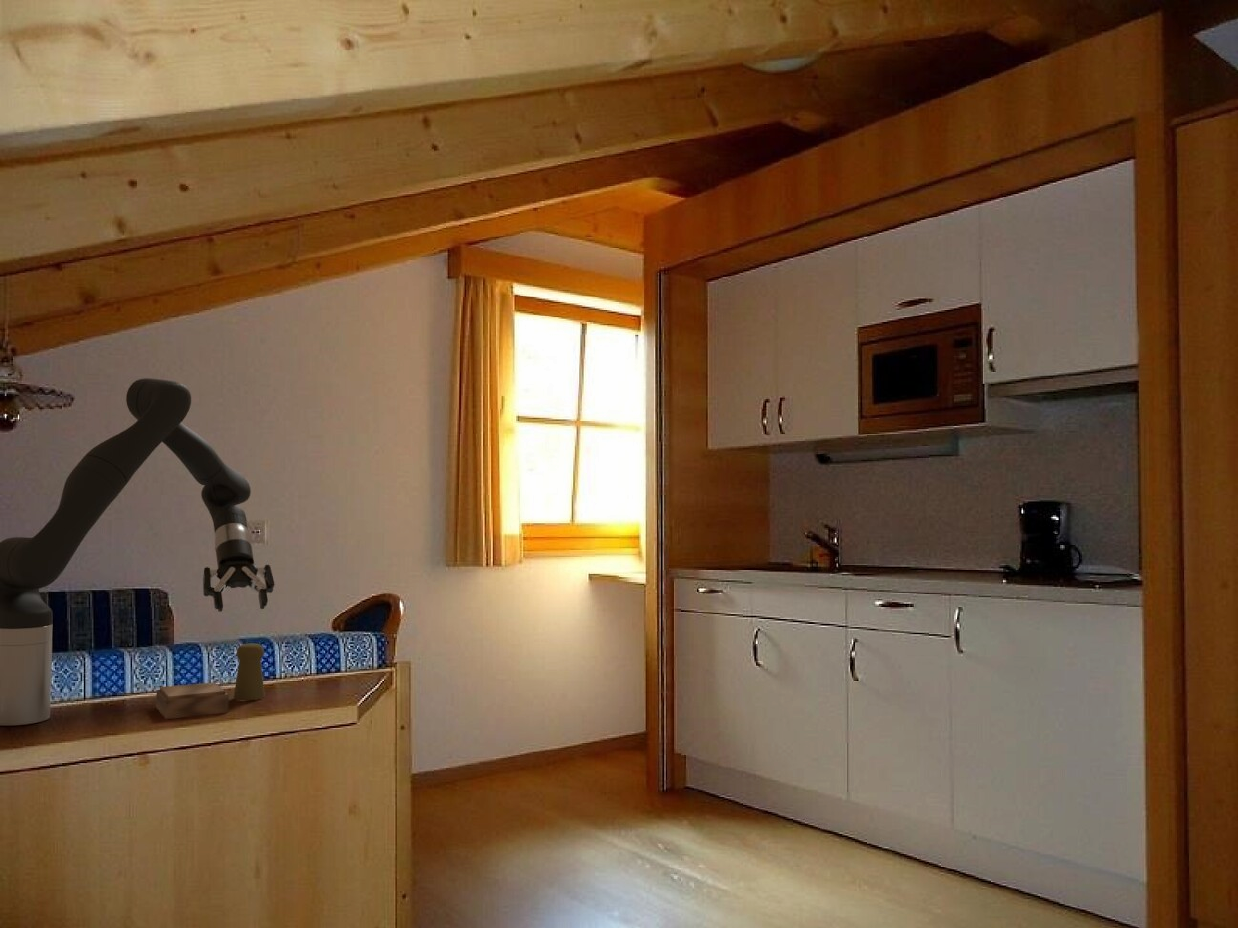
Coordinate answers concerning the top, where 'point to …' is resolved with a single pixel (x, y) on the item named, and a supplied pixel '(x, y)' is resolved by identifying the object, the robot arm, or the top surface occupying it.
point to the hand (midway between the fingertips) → (242, 608)
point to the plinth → (191, 700)
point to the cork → (249, 673)
